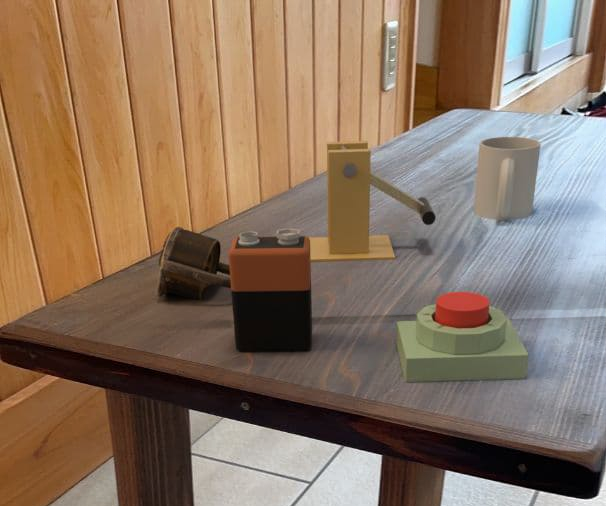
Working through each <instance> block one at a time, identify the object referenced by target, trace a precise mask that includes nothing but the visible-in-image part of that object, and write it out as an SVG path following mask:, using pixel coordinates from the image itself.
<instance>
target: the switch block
mask: <svg viewBox="0 0 606 506" xmlns="http://www.w3.org/2000/svg"><path fill="white" fill-rule="evenodd" d="M435 311H436V303H434V304H430V305H427V306H426V305H425V307H424V308H422V309H421V310H420V311H419V312H417V314H416V320H398V321H396V329H395V346H396V351H397V354H398V358H399V361H400V367H401V370H402V374H403V378H404V382H405V383H420V382H421V383H423V382H457V381H459V382H460V381H487V380H489V381H491V380H520V379H521V380H523V379H524V380H525V379H526V377H527V369H528V361H529V356H530V355H529V353H528V351H527V349H526V347H525V346H524V344H523V342H522V340H521V338H520V337H519V335H518V332H517V331H516V329H515V327H514V325H513V324H512V322H511V320H510V318H509V317H506V316H505V314H504V312H503V311H502V310H501V309H498V308H496V307H494V306H491V305H489V314H488V323H487V325H483V326H480V327H476V328H460V329H459V328H453V327H447V326H442V325H440V324H439V323H437V322H435Z"/></svg>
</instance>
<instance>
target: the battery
mask: <svg viewBox="0 0 606 506" xmlns="http://www.w3.org/2000/svg"><path fill="white" fill-rule="evenodd" d="M309 238H310V237H309V236H307V235H301V230H300V229H297V228H290V227H289V228H283V229H276V235H270V236H269V235H264V236H263V235H262V236H261V235H260V236H259V235H258V232H256V231H244V232H240V233H239V236H237V237H235V238H234V239H233V240H232V243H231V246H230V249H229V251H228V265H229V268H230V275H229V278H230V280H231V288H230V291H231V304H232V305H231V306H232V316H233V329H234V331H233V332H234V342H235V343H234V344H235V349H236V350H237V351H239V352H245V353H246V352H307V351H309V350H310V349H311V347H312V337H313V314H312V313H313V309H312V307H313V306H312V264H311V263H312V262H311V257H310V239H309Z"/></svg>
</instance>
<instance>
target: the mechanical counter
mask: <svg viewBox="0 0 606 506" xmlns="http://www.w3.org/2000/svg"><path fill="white" fill-rule="evenodd" d="M221 248H222V247H221V242H220V240H219V239H217V238H213V237H210V236H207V235H204V234H201V233H198V232H195V231H191V230H189V229H184V228H183V227H181V226H176V227H174V228H173V229H172V230H171V231H170V232H169V233H168V235H167V236H166V238H165V241H163V245H162V249H161V252H160V254H159V259H158V265H159V273H158V279H157V285H156V290H155V294H154V295H155V296H156V297H159V298H160V297H162V296H164V295H166V294H168V293H170V294H172V295H176V296H180V297H184V298H188V299H194V300H199V301H201V300H203V298H202V297H203V296H202V292H203V291H204V290H205V288H207V287H210V286H218V287H223V288H227V289H231V280H230V277H228V276H230V268H229V264H227V263H223V262H221V261H220V259H221V253H222V252H221V251H222V249H221ZM218 273H220V274H218ZM221 274H225V275H226V276H224V275H221ZM227 275H228V276H227Z"/></svg>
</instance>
